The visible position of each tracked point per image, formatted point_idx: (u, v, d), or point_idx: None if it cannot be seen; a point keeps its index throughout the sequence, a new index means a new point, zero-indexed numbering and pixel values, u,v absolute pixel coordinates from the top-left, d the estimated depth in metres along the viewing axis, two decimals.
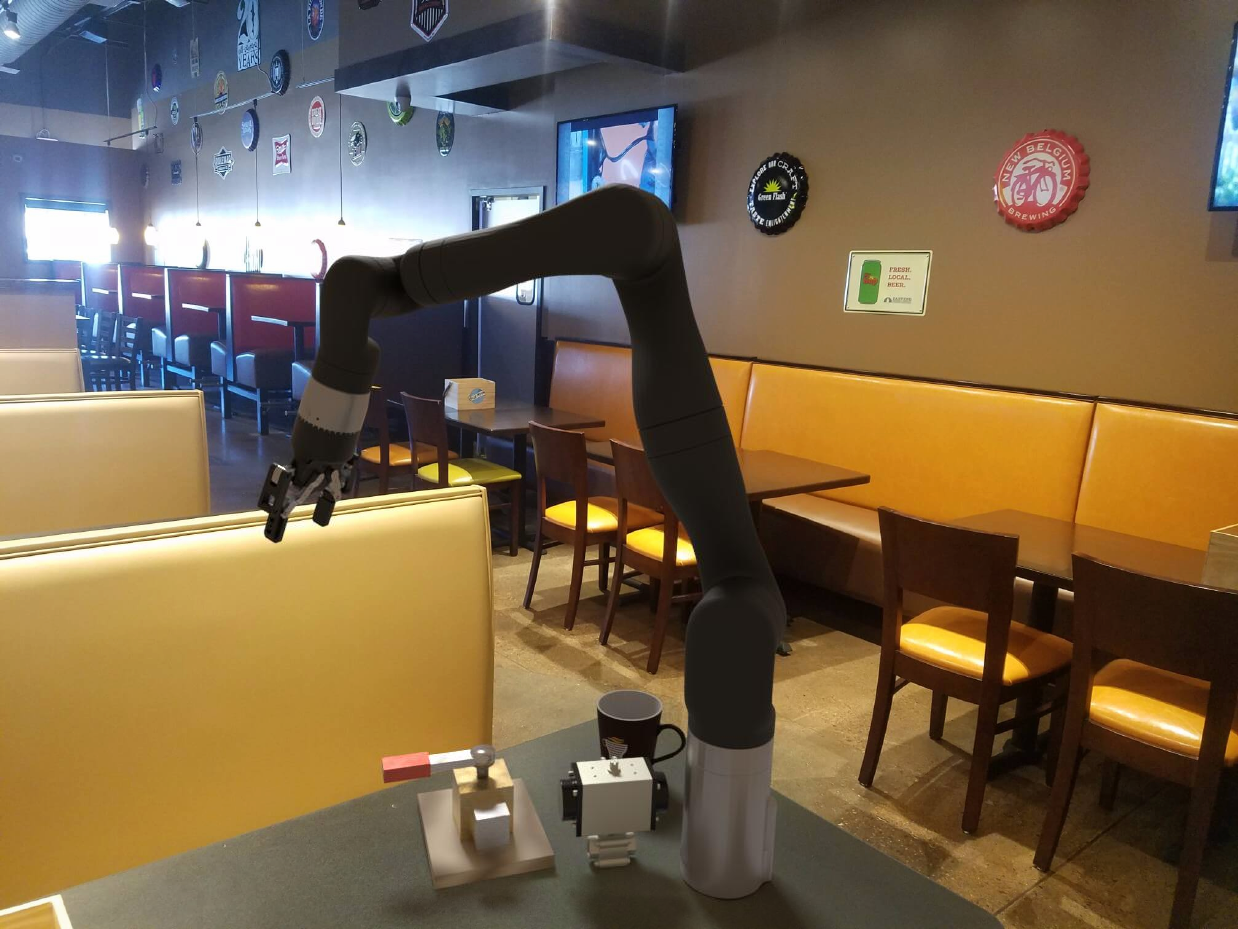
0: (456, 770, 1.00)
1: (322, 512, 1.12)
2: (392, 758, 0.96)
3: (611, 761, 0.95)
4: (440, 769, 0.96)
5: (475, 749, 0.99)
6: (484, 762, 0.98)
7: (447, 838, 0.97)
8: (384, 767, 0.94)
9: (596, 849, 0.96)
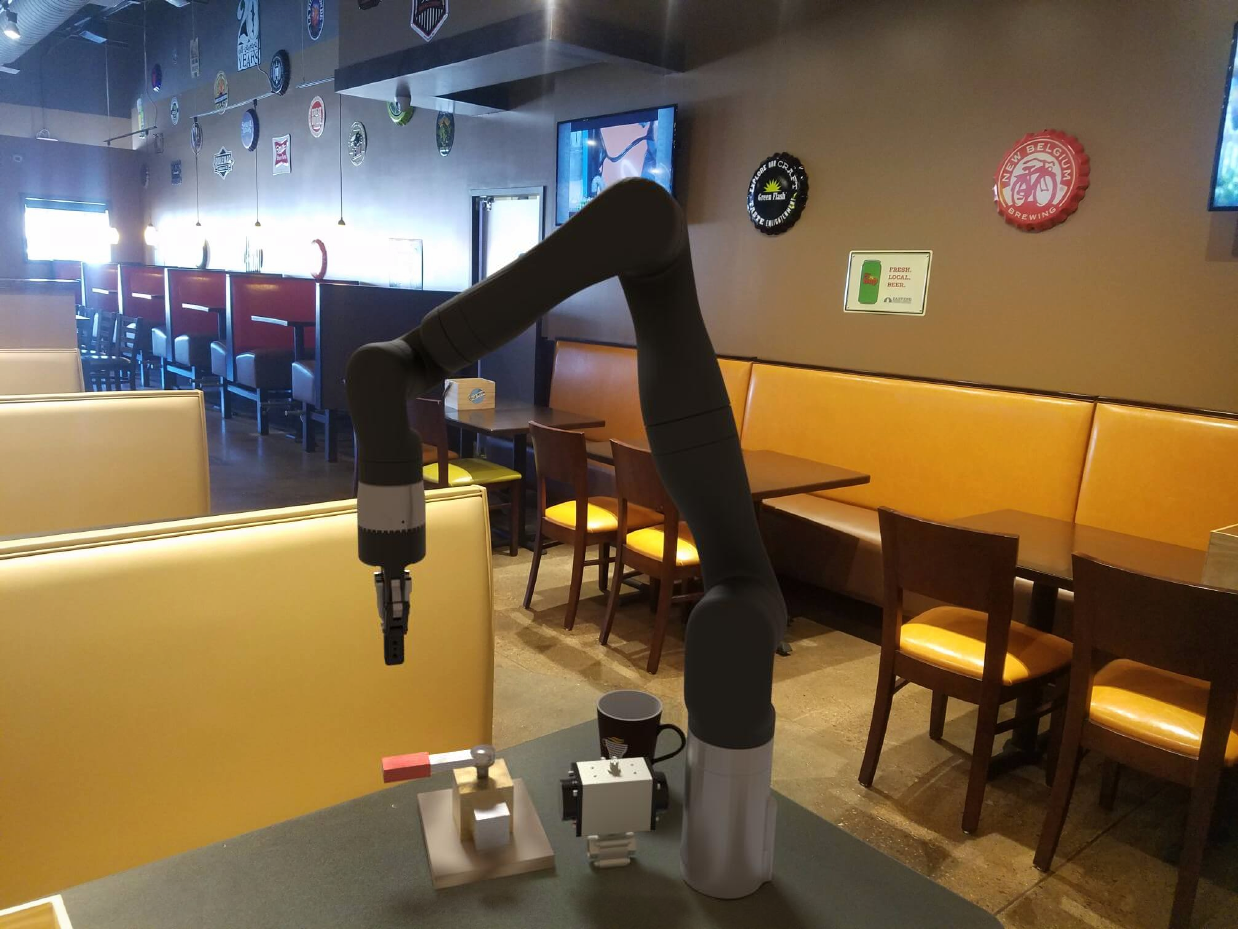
0: (456, 770, 1.00)
1: None
2: (392, 758, 0.96)
3: (611, 761, 0.95)
4: (440, 769, 0.96)
5: (475, 749, 0.99)
6: (484, 762, 0.98)
7: (447, 838, 0.97)
8: (384, 767, 0.94)
9: (596, 849, 0.96)
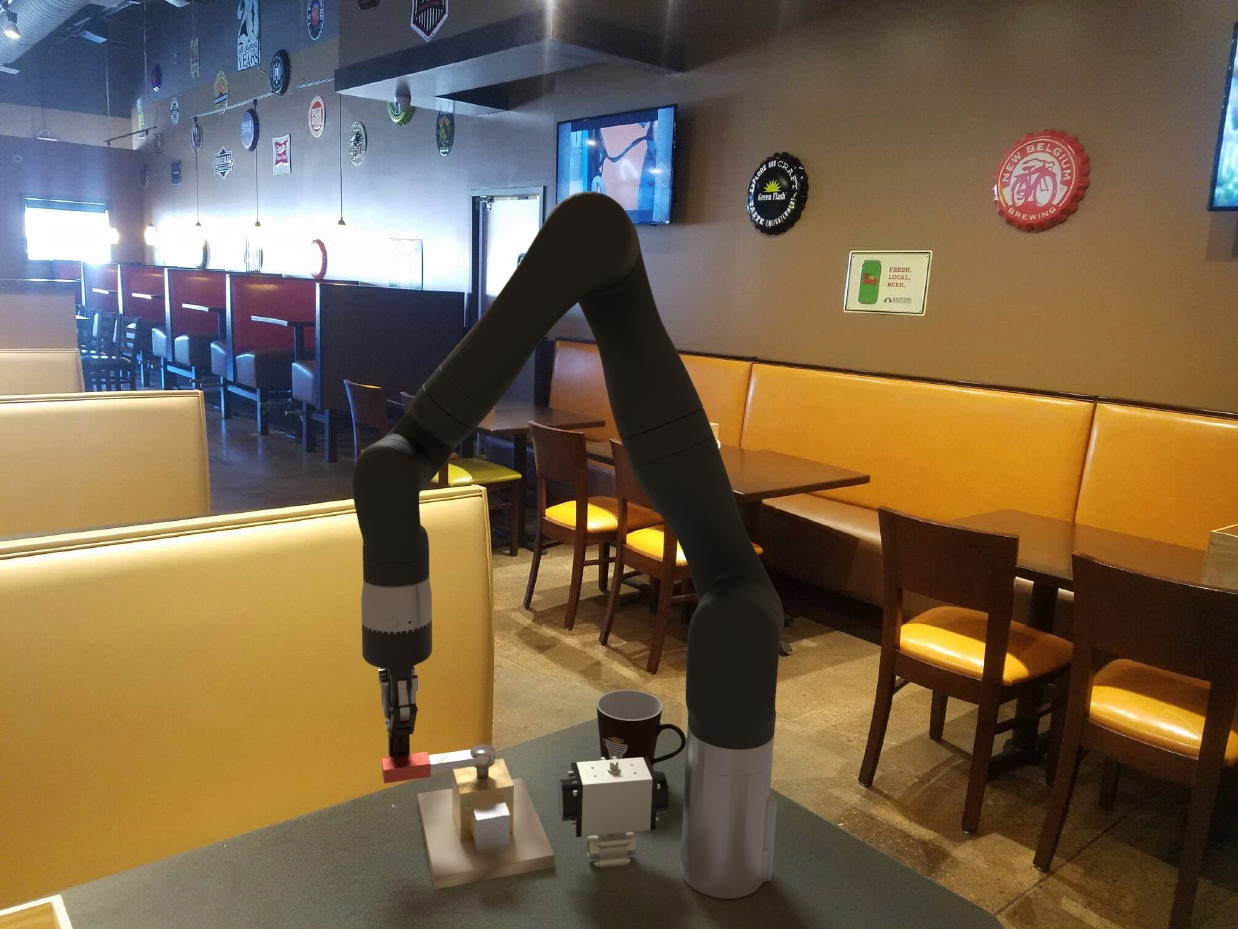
0: (456, 770, 1.00)
1: None
2: (392, 758, 0.96)
3: (611, 761, 0.95)
4: (440, 769, 0.96)
5: (475, 749, 0.99)
6: (484, 762, 0.98)
7: (447, 838, 0.97)
8: (384, 767, 0.94)
9: (596, 849, 0.96)
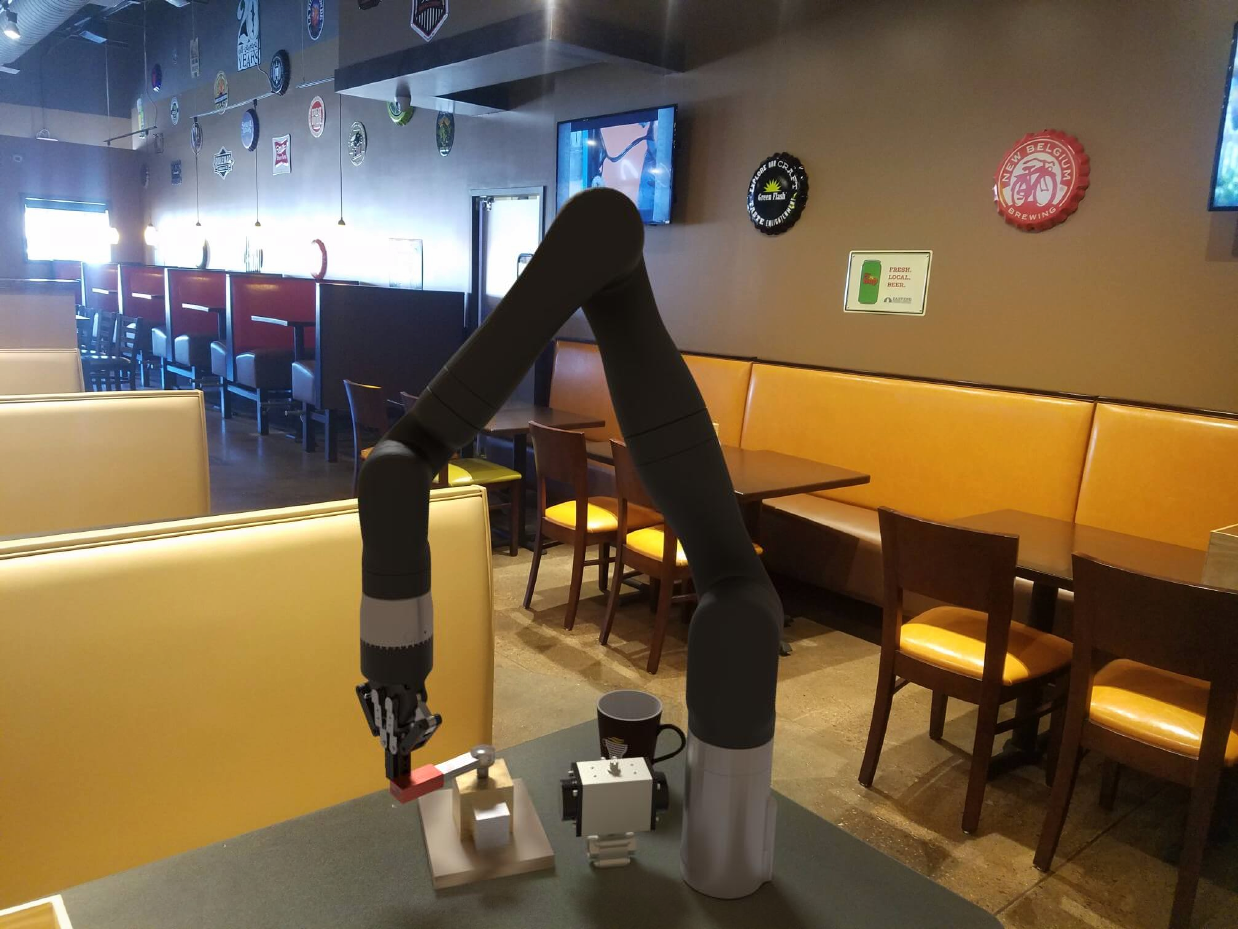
0: None
1: None
2: (401, 777, 0.93)
3: (611, 761, 0.95)
4: (450, 777, 0.95)
5: (474, 751, 0.99)
6: (489, 761, 0.98)
7: (447, 838, 0.97)
8: (400, 787, 0.91)
9: (596, 849, 0.96)
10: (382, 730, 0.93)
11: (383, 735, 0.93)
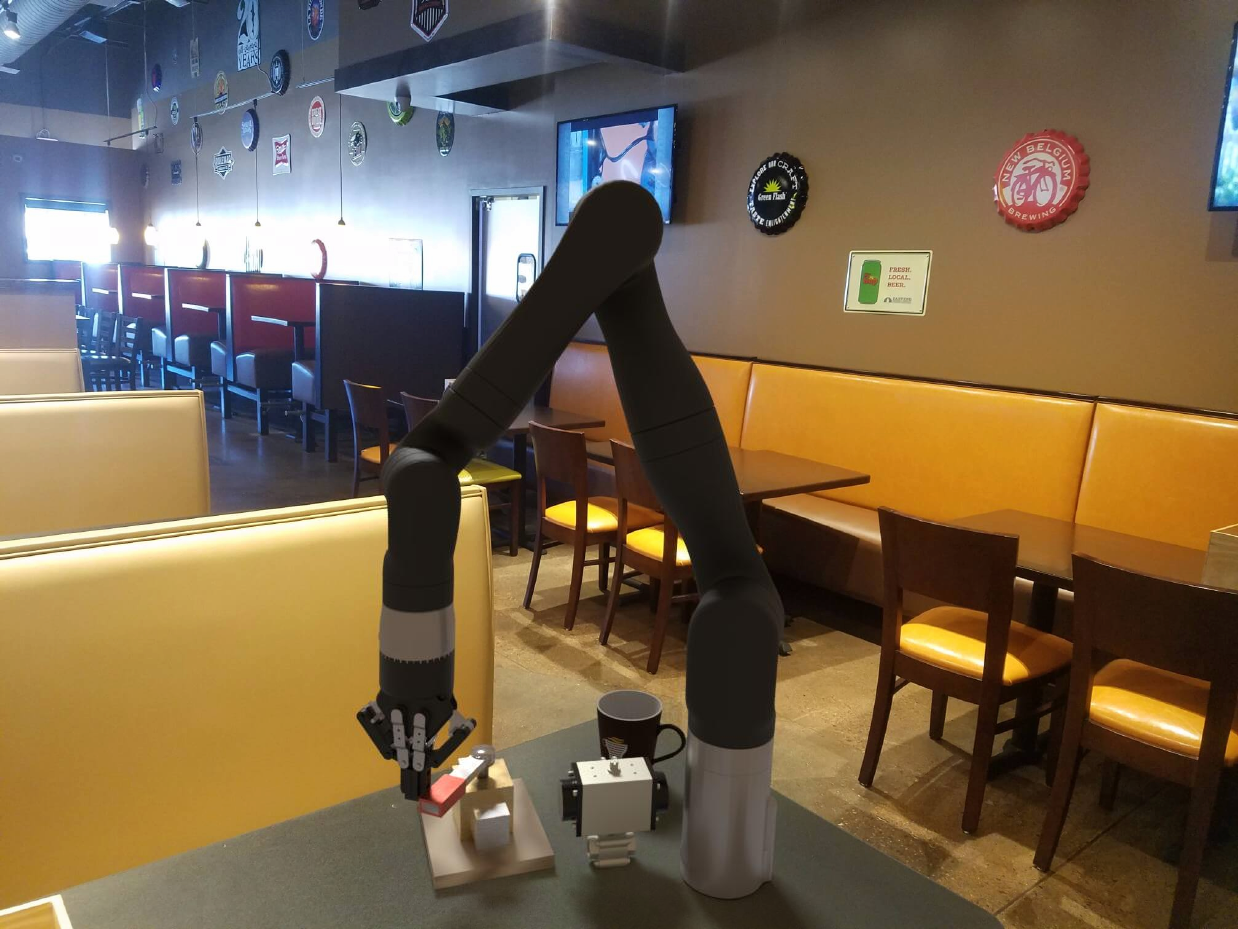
0: None
1: None
2: (428, 793, 0.90)
3: (611, 761, 0.95)
4: (468, 782, 0.94)
5: (475, 752, 0.98)
6: (493, 758, 0.98)
7: (447, 838, 0.97)
8: (437, 802, 0.88)
9: (596, 849, 0.96)
10: (401, 750, 0.89)
11: (402, 755, 0.89)
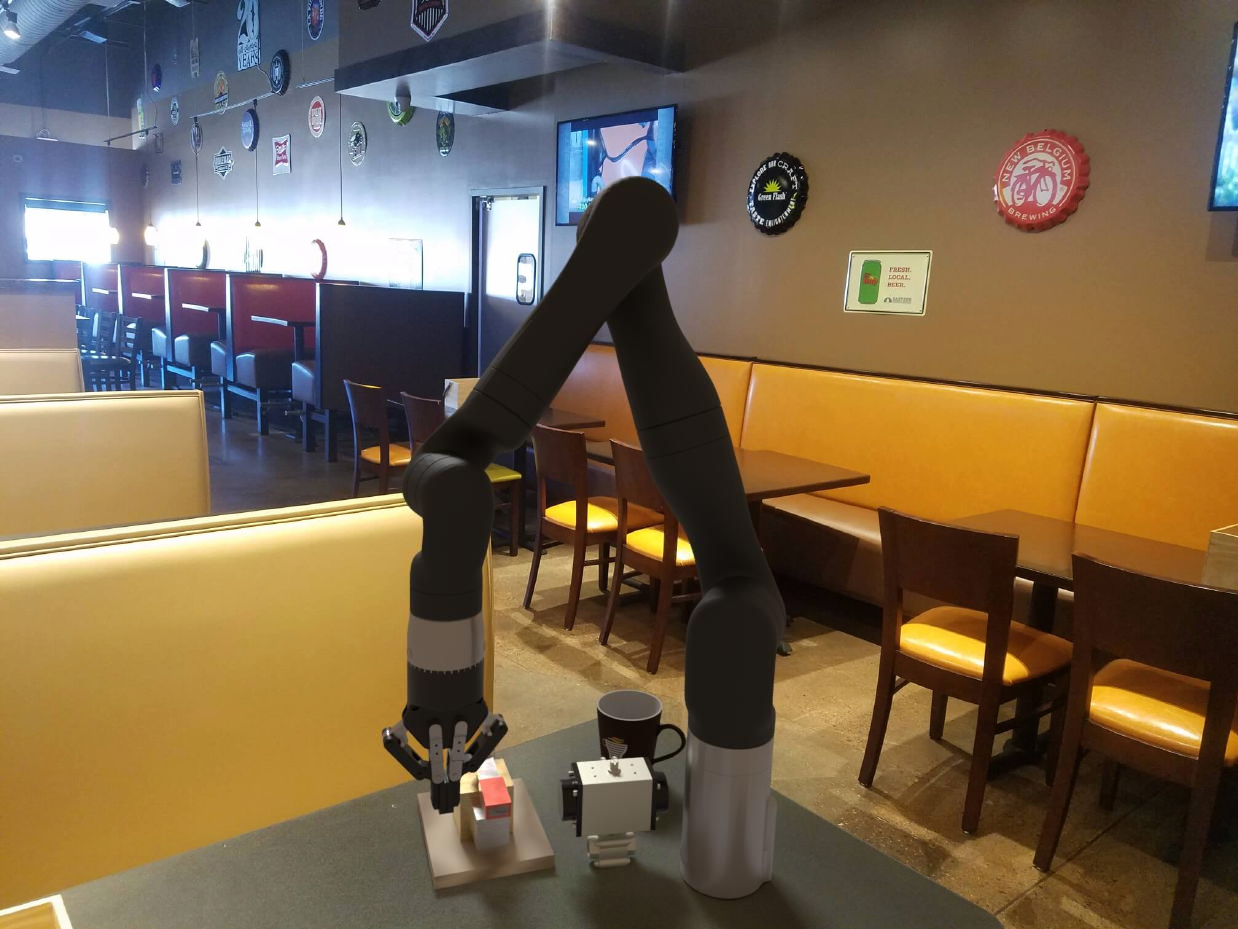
0: None
1: None
2: (488, 799, 0.89)
3: (611, 761, 0.95)
4: None
5: None
6: None
7: (447, 838, 0.97)
8: (505, 802, 0.89)
9: (596, 849, 0.96)
10: (436, 765, 0.87)
11: (437, 770, 0.87)
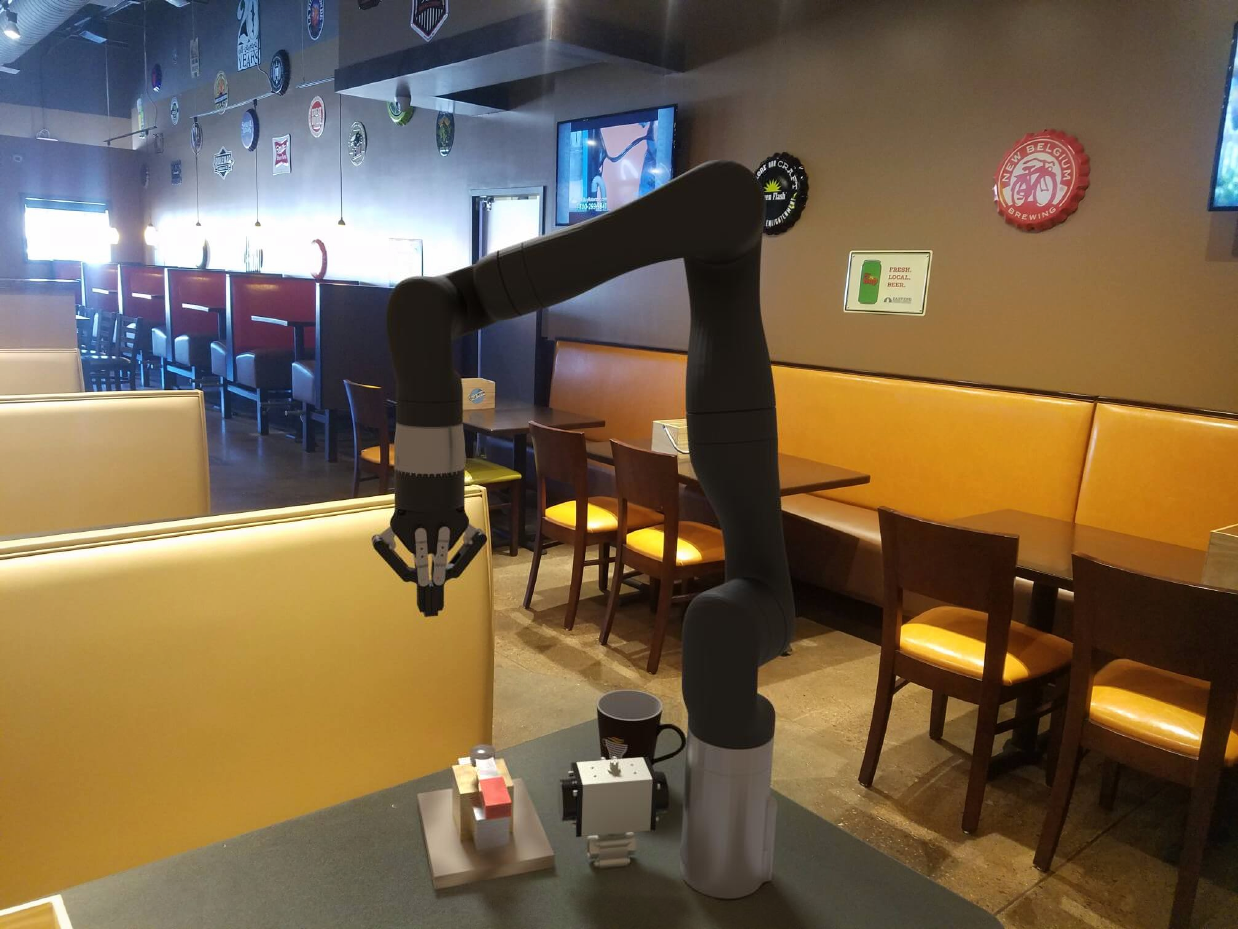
0: (456, 770, 1.00)
1: None
2: (488, 799, 0.89)
3: (611, 761, 0.95)
4: None
5: (479, 754, 0.98)
6: None
7: (447, 838, 0.97)
8: (505, 802, 0.89)
9: (596, 849, 0.96)
10: (422, 569, 0.95)
11: (423, 573, 0.95)
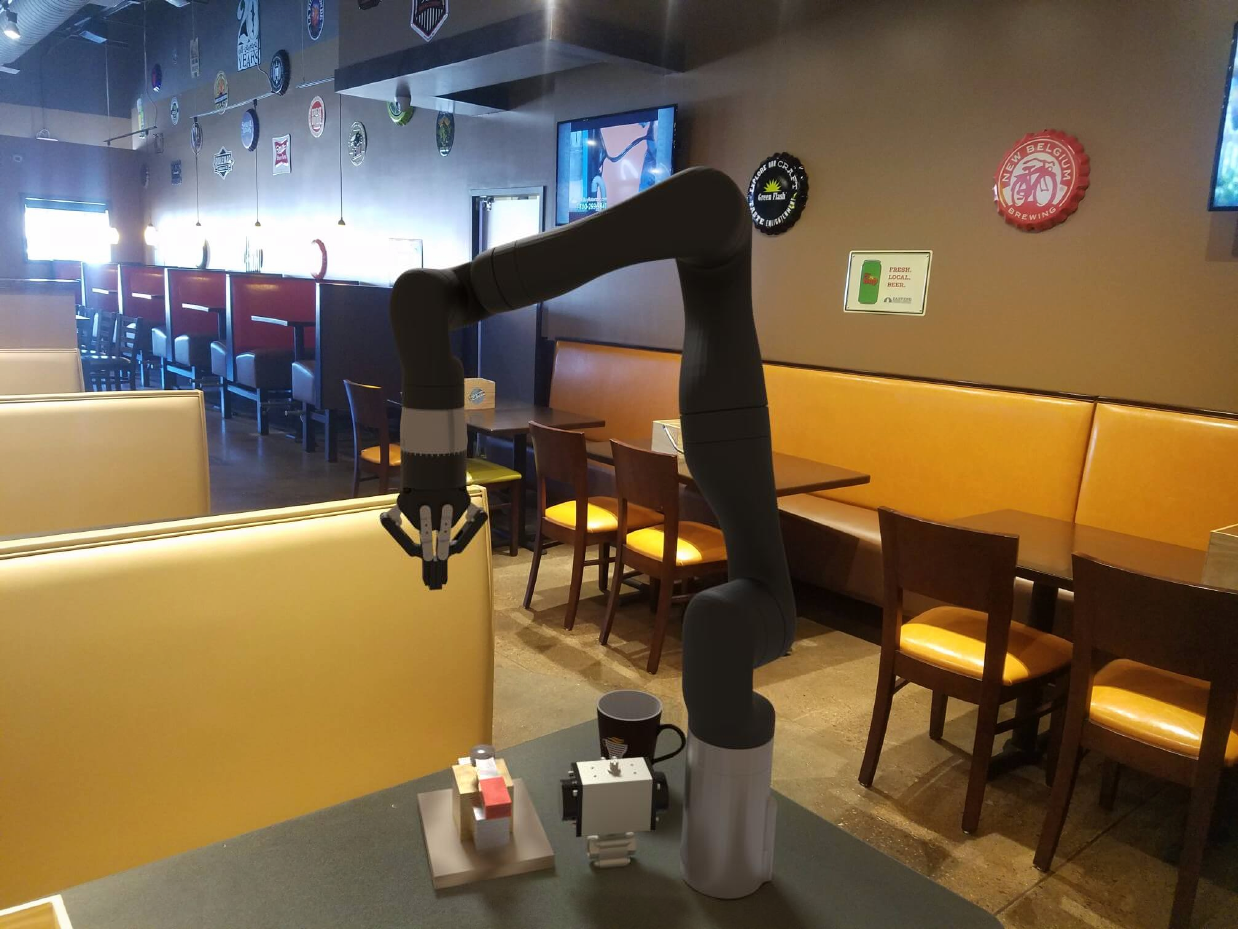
0: (456, 770, 1.00)
1: None
2: (488, 799, 0.89)
3: (611, 761, 0.95)
4: None
5: (479, 754, 0.98)
6: None
7: (447, 838, 0.97)
8: (505, 802, 0.89)
9: (596, 849, 0.96)
10: (426, 544, 1.01)
11: (427, 549, 1.01)
